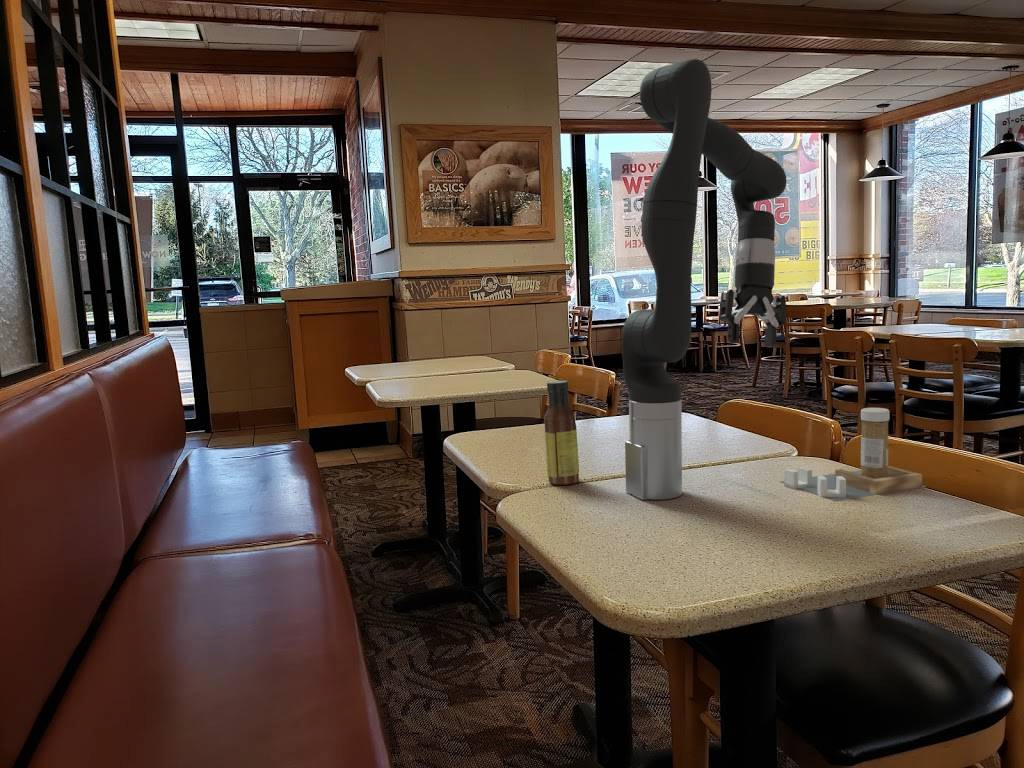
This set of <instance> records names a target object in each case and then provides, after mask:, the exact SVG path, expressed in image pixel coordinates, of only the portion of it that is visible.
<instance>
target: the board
mask: <svg viewBox="0 0 1024 768" xmlns="http://www.w3.org/2000/svg"><path fill="white" fill-rule="evenodd" d="M783 472H784V474H783V475H784V476H783V477H784V479H783V480H781V481H778V483H781V484H784V486H785V487H787V488H790V489H792V490H796V489H798V490H801V491H804V492H808V493H810V494H813V495H815V496H819V497H821V498H824V499H827V500H829V501H833V502H839V501H845V500H846V501H847V500H851V499H852V500H853V499H858V498H867V497H870V496H877V495H883V494H884V495H885V494H889V493H891V494H892V493H896V492H903V491H910V490H917V489H921V488H927V485H924V484H922V487H917V488H911V489H905V490H898V491H892V492H885V493H879V494H873V493H870V492H867V491H864V490H861V489H857V488H854V487H851V486H848V485H846V479H845V478H844V477H843V476H836V482H835V473H830V474H823V475H814V476H813V469H810V468H807V467H804V466H800V467H797V470H794V469H791V468H786V469H784V471H783ZM849 472H853V473H856V474H860V475H861V469H858V470H852V471H849Z"/></svg>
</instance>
